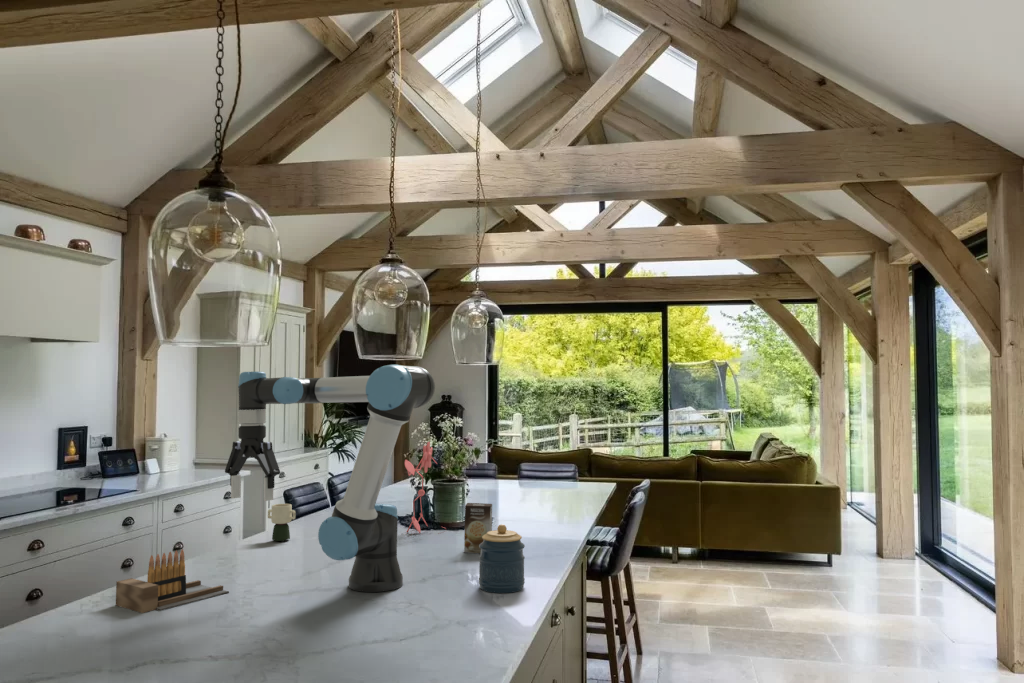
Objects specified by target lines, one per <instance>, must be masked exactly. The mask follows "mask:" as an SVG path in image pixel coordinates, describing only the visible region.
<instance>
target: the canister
mask: <svg viewBox="0 0 1024 683" xmlns="http://www.w3.org/2000/svg"><path fill="white" fill-rule="evenodd" d="M522 538H523V537H522V535H520V534H519V533H518V532H517V531H515V530H509V529H508V530H507V526H506V525H505V524H502V523H501V524H499V525H498V526H497V529H496V530H492V531H489V532H487V534H485V535H483V536H482V539H484V540H483V542H482V543H480V544H479V547H480V549H481V553H480V555H479V556H478V560H479V566H478V569H479V572H478V573H479V576H478V585H479V589H480V590H482V591H484V592H488V593H495V594H509V593H510V594H511V593H515V592H519V591H522V590H523V589H524V586H525V559H526V558H525V556H524V548H525V547H526V546H525V544H524V543H523V542H522V541H521V539H522Z"/></svg>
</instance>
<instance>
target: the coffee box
mask: <svg viewBox="0 0 1024 683" xmlns="http://www.w3.org/2000/svg"><path fill="white" fill-rule="evenodd" d="M489 531H493V503H481V502H467V503H466V504H465V506H464V539H463V540H464V543H463V546H464V549H463V553H467V554H468V553H469V554H481V549H480V547H479V544H480V543H482V542H483V540H484V539H482V536H483V535H485V534H487V532H489Z"/></svg>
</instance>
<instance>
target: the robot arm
mask: <svg viewBox="0 0 1024 683" xmlns="http://www.w3.org/2000/svg"><path fill="white" fill-rule="evenodd" d="M237 388H238V416H237V418H238V419H237V420H238V422H237V423H238V424H239V426H238V430H237V431H238V432H237V433H238V435H237V436H238V439H240V440H241V441H240V440H237V441H233V442H232V448H231V452H230V454H229V458H228V460H227V463H226V466H225V469H224V473H225V474H228V475H229V476H230V477H229V479H230V482H229V484H230V498H231V499H232V500H234V499H240V498H241V474H240V472H241V470H242V469H243V468H244V467H243V466H244V465H245V463H246V462H247V460H248V459H249V458H253V459H255V460H256V461H257V462H258V464H259V466H260V467H261V469H262V471H263V474H265V475H264V477H263V501H264V502H268V501H273V500H274V488H275V477H276V476H278V475H280V474H281V471H280V467H279V464H278V460H277V458H276V456H275V452H274V450H273V442H272V441H264V439H266V436H267V426H266V425H264V424H266V422H267V421H266V420H267V416H266V415H267V414H266V413H267V412H266V409H267V405H269V404H270V405H292V404H323V403H327V404H328V403H329V404H331V403H368V404H367V406H366V409H367V412H368V413H369V419H368V422H367V425H366V428H365V432H364V435H363V438H362V441H361V444H360V447H359V449H358V453H357V455H356V459H355V462H354V465H353V469H352V472H351V474H350V478H349V480H348V483H347V486H346V490H345V491H344V492H345V493H344V496H343V498H342V499H339V500H337V501H336V503H335V505H334V508H333V511H332V513H331V516H329V517H327V518H326V519H324V520H323V521H322V522H321V524H320V526H319V528H318V532H317V538H318V542H319V545H320V546H321V550H322V552H323V553H324V554H325V555H326V556H327V557H328V558H330V559H332V560H335V561H339V562H340V561H341V562H342V561H345V560H348V561H349V560H352V559H353V558H354V563H353V564H352V569H351V572H350V575H349V577H348V588H349V589H351V590H353V591H356V592H364V593H377V592H378V593H379V592H381V593H382V592H388V591H393V590H396V589H399V588H401V587H402V586H403V584H404V581H403V580H404V578H403V577H404V576H403V574H402V572H401V568H400V564H399V560H398V520H399V517H398V509H397V506H396V505H394V504H388V503H377V501H378V497H379V494H380V492H381V488H382V486H383V483H384V480H385V476H386V473H387V470H388V467H389V464H390V461H391V458H392V454H393V451H394V450H395V446H396V443H397V440H398V437H399V434H400V432H401V428H402V427H403V425H405V424H406V423H409V421H410V419H411V416H412V414H413V410H414V409H419V408H421V407H424V406H425V405H427V404H428V403H429V402H430V401H431V400H432V399H433V397H434V394H435V392H436V383H435V379H434V377H433V376H432V374H431V373H430V372H429V371H428V370H426V368H424V367H421V366H416V365H401V364H394V363H393V364H387V365H383V366H380V367H378V368H376V369H375V370H373V372H372V373H371V374H370V375H358V376H357V375H355V376H335V377H333V376H330V377H329V376H328V377H301V378H300V377H293V376H292V377H291V376H283V377H281V376H280V377H267V374H266V372H265V371H241V373H240V374H239V378H238V385H237Z"/></svg>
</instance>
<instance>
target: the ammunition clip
mask: <svg viewBox="0 0 1024 683" xmlns="http://www.w3.org/2000/svg"><path fill="white" fill-rule="evenodd" d="M185 561H186V560H185V551H184V549H181V551H180V554H179V552H178V550H177V549H176V550H175V552H174V556H173V554H172V552H171V551H169V552H168V554H167V556H166V553H165V552H163V554H162V556H161V557H160V554H159V553H157V554H156V557H155V559H154V556H153V555H152V554H151V555H150V557H149V562H148V570H147V579H146V580H147V581H146V582H149V583H153V584H157V585H158V601H160V600H164V599H168V598H172V597H176V596H180V595H184V594H186V583H187V575H186V563H185Z"/></svg>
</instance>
